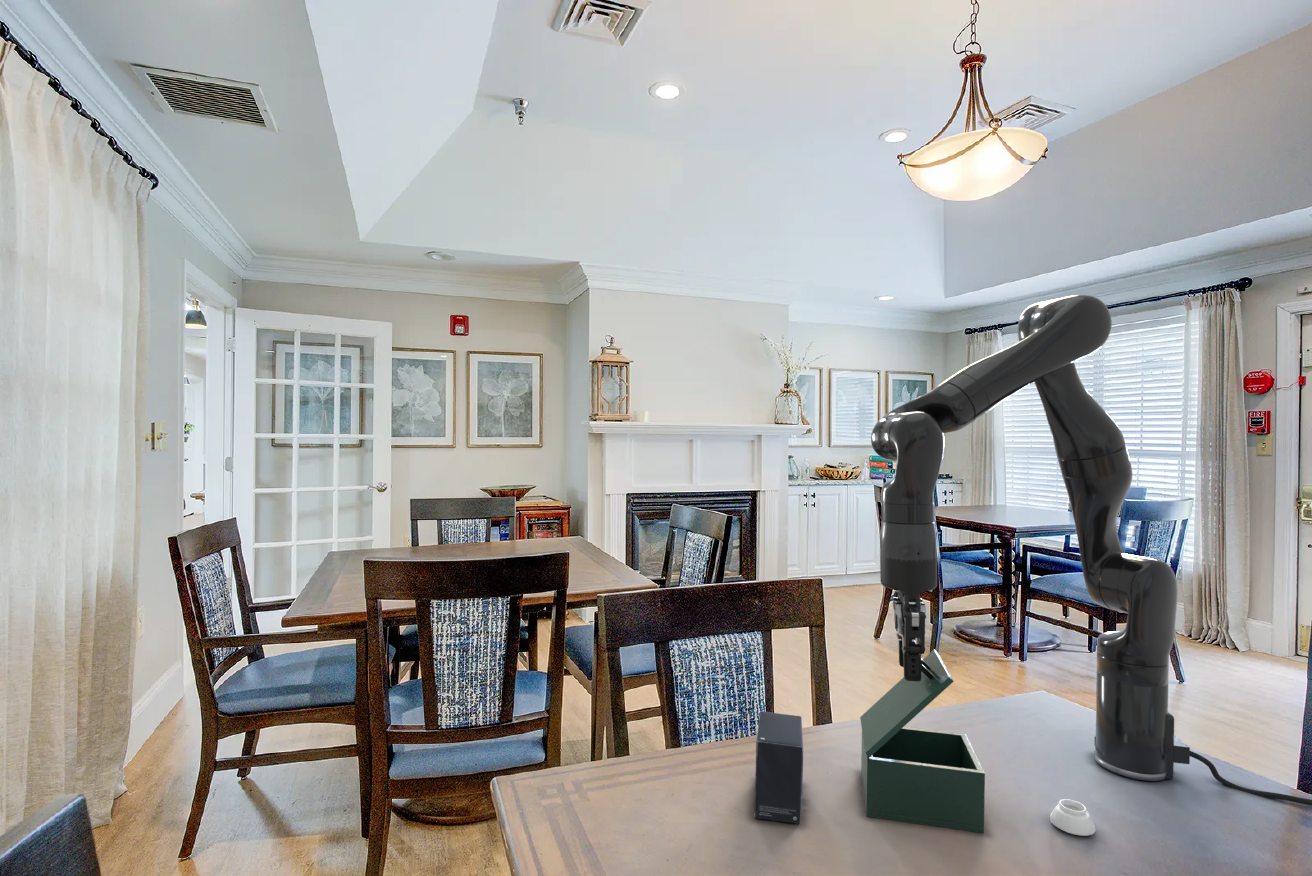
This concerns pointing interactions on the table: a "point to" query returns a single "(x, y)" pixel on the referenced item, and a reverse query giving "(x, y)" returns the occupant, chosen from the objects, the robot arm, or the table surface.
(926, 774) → the waste bin
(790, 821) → the small box
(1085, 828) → the white jar
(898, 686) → the bin lid
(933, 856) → the table surface
